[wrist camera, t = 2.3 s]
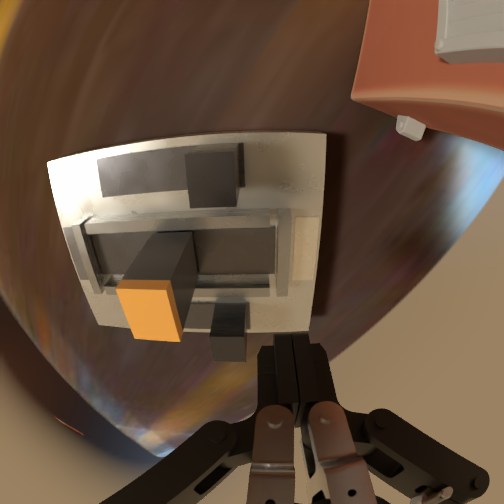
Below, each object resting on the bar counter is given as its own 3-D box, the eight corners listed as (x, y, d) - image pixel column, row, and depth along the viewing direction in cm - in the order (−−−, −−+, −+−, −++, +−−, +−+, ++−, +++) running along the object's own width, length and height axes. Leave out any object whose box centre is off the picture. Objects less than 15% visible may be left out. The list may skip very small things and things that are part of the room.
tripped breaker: (152, 233, 18) (115, 288, 12) (191, 231, 18) (166, 290, 12) (162, 277, 20) (134, 338, 14) (198, 277, 20) (180, 341, 14)
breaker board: (61, 156, 17) (16, 176, 12) (319, 131, 17) (345, 141, 12) (106, 311, 25) (84, 351, 20) (305, 315, 25) (314, 363, 20)
